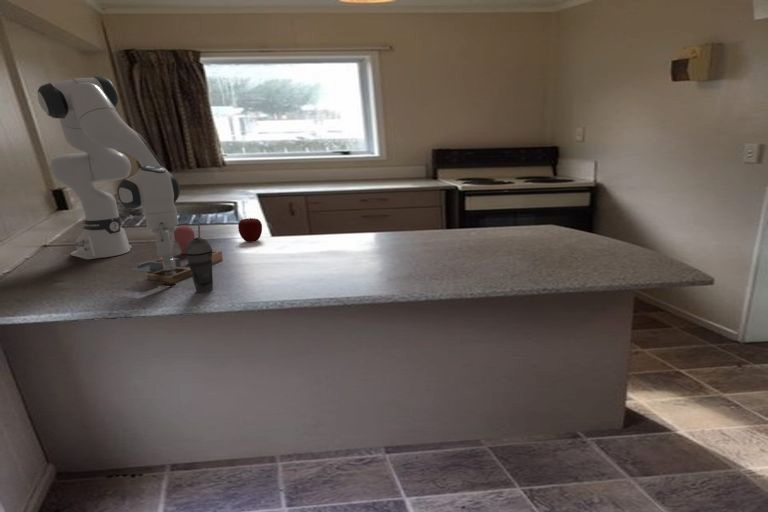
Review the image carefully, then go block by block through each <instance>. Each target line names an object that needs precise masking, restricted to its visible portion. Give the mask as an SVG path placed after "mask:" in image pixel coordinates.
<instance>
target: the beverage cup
mask: <svg viewBox="0 0 768 512" xmlns="http://www.w3.org/2000/svg"><path fill="white" fill-rule="evenodd" d="M212 248H213V247H212V245H211V243H209V241H207V240H206V239H204V238H202V237H201V223H200V222H197V237H194V239H192V240H190V241H189V242H188V244H187V246H186V250H185V251H186V253H185V254H184V255H185V256H186V260H188V261H189V264H188V265H189V268H190V269H191V273H192V276H191V277H192V280H193V283H194V287H195V290H196V291H195V292H196V293H199V294H203V293H204V294H205V293H209V292H212V291H213V290H214V287H213V285H214V281H213V280H214V278H213V263H212V251H213V249H212ZM188 261H187V262H188Z"/></svg>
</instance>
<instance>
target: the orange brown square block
mask: <svg viewBox="0 0 768 512" xmlns="http://www.w3.org/2000/svg"><path fill="white" fill-rule="evenodd" d="M186 260H187V259H186ZM186 262H187V265H189V261H188V260H187V261H186ZM216 262H217V263H216ZM220 263H224V258H223V252H222V251H221V250H212V264H213V266H214V265H217V264H220Z"/></svg>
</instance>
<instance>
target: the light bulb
mask: <svg viewBox="0 0 768 512" xmlns="http://www.w3.org/2000/svg"><path fill="white" fill-rule="evenodd" d="M194 238H195V232H194V229H193V228H192V227H190V226H188V225H179V226H176V228H175V230H174V242H175V243H176V244H177V245H178V246H179V249H180V253H181V254H182V255H186V254H185V253H186V251H185V250H186V246H187V244H188V242H189V241H190V240H192V239H194Z"/></svg>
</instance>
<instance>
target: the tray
mask: <svg viewBox="0 0 768 512" xmlns="http://www.w3.org/2000/svg"><path fill="white" fill-rule="evenodd" d="M176 269H177V274H174V275H171V276H165V274H164V269H163V270H160V271H157V272H150V273H148V274H147V276H146V277H147V280H151V281H152V280H153V281H159V282H163V283H162V284H160V286H162V287H163V286H166V287H174V286H175V285H177V282H180V281H182V280H185V279H187V278H190V277H192V273H191V269H190V267H183V266H181V267H176Z"/></svg>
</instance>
